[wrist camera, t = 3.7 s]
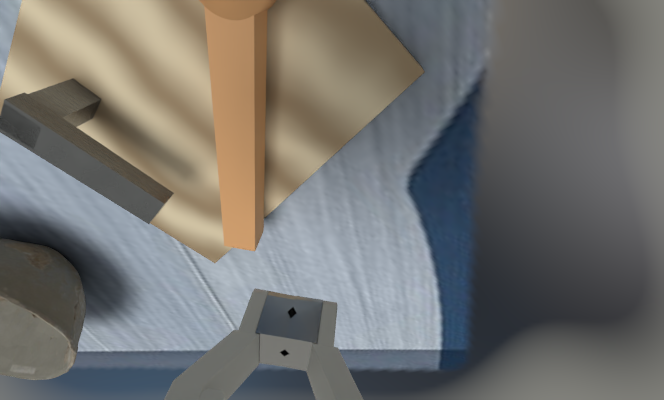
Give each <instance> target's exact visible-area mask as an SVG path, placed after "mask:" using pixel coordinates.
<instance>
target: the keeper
mask: <svg viewBox="0 0 664 400" xmlns="http://www.w3.org/2000/svg"><path fill="white" fill-rule="evenodd" d="M101 100H102V99H101V98H100V97H98V96H97V95H96V94H94V93H93V92H92V91H90V90H89V89H87V88H86V87H85V86H83V85H82V84H80V83H79V82H78V81H76V80H75V79H74V78H72V79H69V80H66V81H64V82H61V83H58V84H55V85H52V86H49V87H47V88H44V89H41V90H38V91H35V92H32V93H30V94H26V93H25V92H24V93H22V94H19V95H16V96H13V97H10V98H7V99H4V103H3V107H2V111H1V115H0V132H1V133H2V134H4V135H6V136H7V137H9V138H11V139H12V140H14V141H15V142H17V143H19V144H20V145H22V146H24V147H25V148H27V149H28V150H30V151H32V152H33V153H35V154H36V155H38V156H40V157H41V158H43V159H45V160H46V161H48V162H49V163H51V164H53V165H54V166H56V167H57V168H59V169H61V170H62V171H64V172H66V173H67V174H69V175H70V176H72V177H74V178H75V179H77V180H78V181H80V182H82V183H83V184H85V185H87V186H88V187H90V188H91V189H93V190H95V191H96V192H98V193H100V194H101V195H103V196H104V197H106V198H108V199H109V200H111V201H112V202H114V203H116V204H117V205H119V206H121V207H122V208H124V209H125V210H127V211H129V212H130V213H132V214H133V215H135V216H137V217H138V218H140V219H142V220H143V221H145V222H146V223H148V224H149V223H150V222H151V221H152V220H153V219H154V218H155V217H156V215H157V214H158V213H159V212H160V211H161V209H162V208H163V207H164V206H165V204H166V203H167V202H168V200H169V199H170V198H171V197H172V195H173V194H174V193H173V192H172V191H170V190H169V189H167V188H166V187H164V186H163V185H161V184H160V183H158V182H157V181H155V180H154V179H153V178H151V177H150V176H148V175H147V174H145V173H144V172H142V171H141V170H139V169H138V168H136V167H135V166H133V165H132V164H130V163H129V162H127V161H126V160H124V159H123V158H121V157H120V156H118V155H117V154H115V153H114V152H112V151H111V150H109V149H108V148H107V147H105V146H104V145H102V144H101V143H99V142H98V141H96V140H95V139H93V138H92V137H90V136H89V135H87V134H86V133H84V132H83V131H81V130H80V129H78V128H77V127H78V126H80V125H81V124H83V123H85V122H87V121H89V120H91V119H93V117H94V115H95V113H96V111H97V109H98V106H99V104H100V102H101Z"/></svg>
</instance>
